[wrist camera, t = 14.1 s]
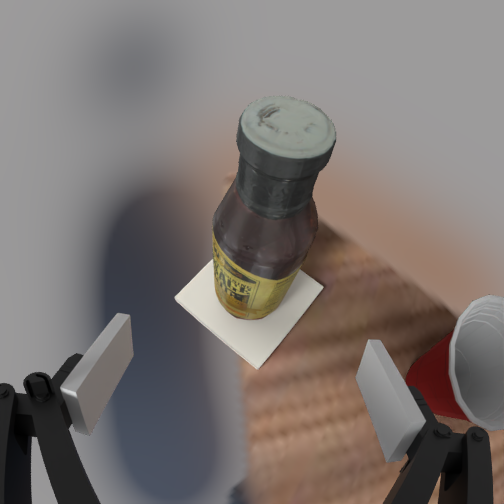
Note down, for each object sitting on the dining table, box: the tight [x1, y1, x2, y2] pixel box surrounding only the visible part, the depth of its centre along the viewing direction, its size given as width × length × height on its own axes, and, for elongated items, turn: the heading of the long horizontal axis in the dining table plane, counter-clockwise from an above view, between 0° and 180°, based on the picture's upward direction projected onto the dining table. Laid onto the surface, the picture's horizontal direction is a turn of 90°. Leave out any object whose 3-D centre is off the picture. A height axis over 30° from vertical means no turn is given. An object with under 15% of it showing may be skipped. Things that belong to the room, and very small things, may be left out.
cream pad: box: [175, 259, 323, 370], centre depth 30 cm, size 10×10×1 cm
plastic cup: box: [406, 295, 504, 431], centre depth 22 cm, size 11×11×12 cm
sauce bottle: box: [212, 96, 336, 320], centre depth 21 cm, size 7×6×20 cm
